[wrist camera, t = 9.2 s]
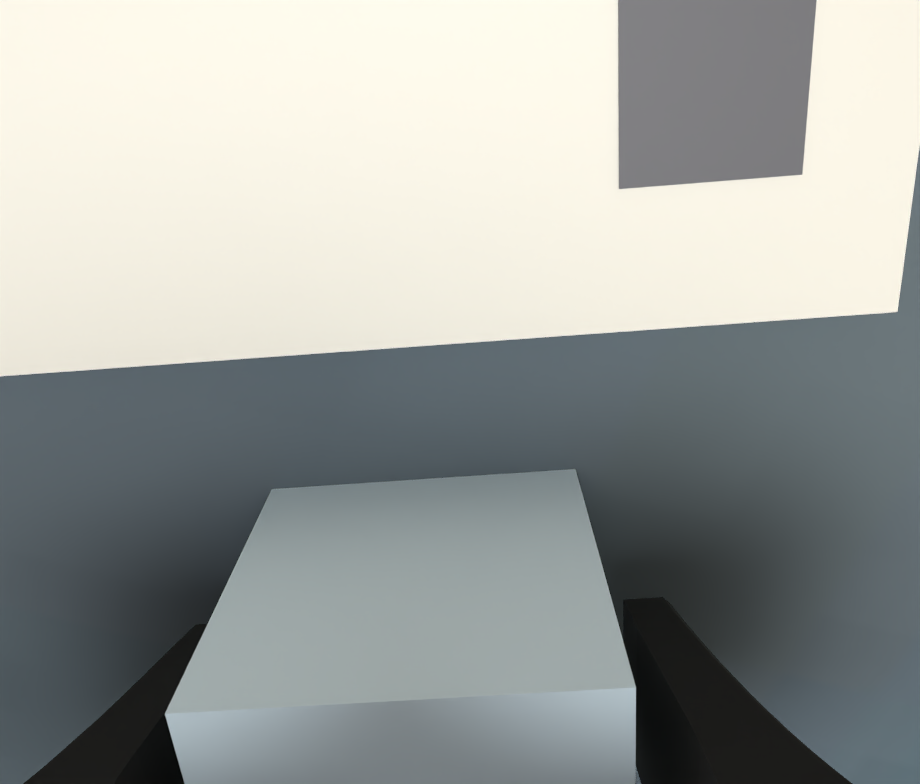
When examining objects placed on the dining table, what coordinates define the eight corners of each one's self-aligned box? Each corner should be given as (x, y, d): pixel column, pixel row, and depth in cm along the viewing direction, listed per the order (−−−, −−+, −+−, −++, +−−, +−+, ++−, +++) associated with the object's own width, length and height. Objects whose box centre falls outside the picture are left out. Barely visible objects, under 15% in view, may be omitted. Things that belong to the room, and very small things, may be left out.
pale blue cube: (317, 718, 15) (248, 1011, 10) (272, 487, 13) (164, 713, 8) (581, 704, 15) (634, 994, 10) (574, 466, 13) (635, 687, 8)
